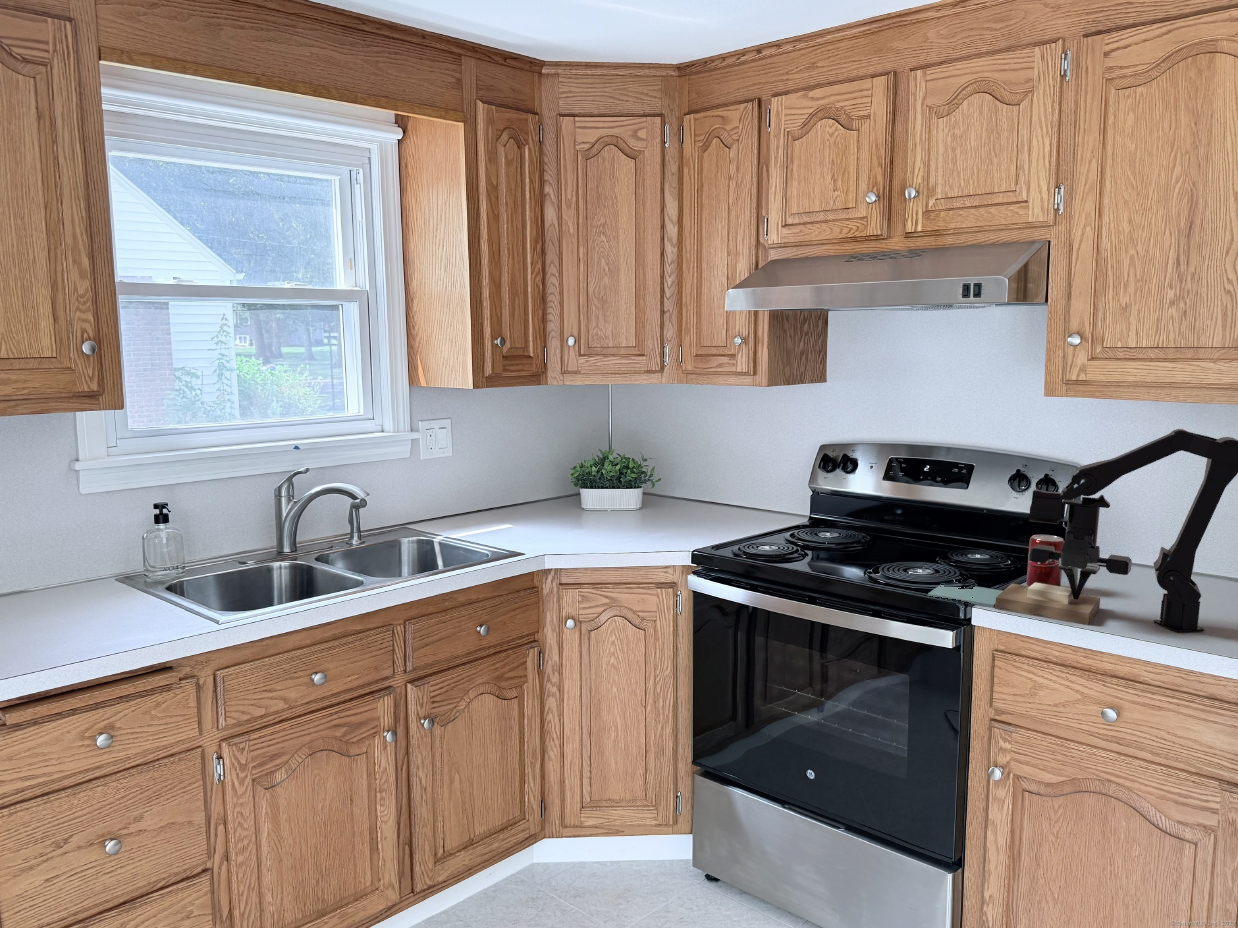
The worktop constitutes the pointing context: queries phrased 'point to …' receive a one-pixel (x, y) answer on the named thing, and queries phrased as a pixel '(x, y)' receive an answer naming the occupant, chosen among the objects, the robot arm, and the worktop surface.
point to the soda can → (1049, 569)
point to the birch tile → (1050, 593)
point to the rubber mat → (968, 595)
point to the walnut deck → (1047, 605)
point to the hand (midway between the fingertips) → (1076, 599)
